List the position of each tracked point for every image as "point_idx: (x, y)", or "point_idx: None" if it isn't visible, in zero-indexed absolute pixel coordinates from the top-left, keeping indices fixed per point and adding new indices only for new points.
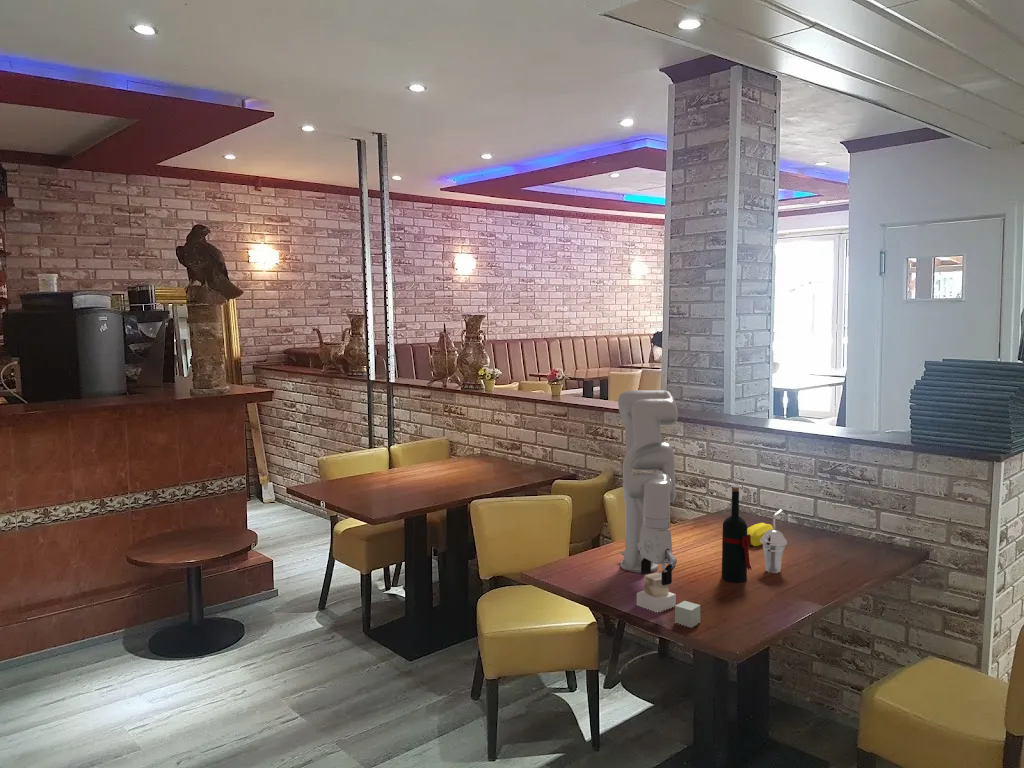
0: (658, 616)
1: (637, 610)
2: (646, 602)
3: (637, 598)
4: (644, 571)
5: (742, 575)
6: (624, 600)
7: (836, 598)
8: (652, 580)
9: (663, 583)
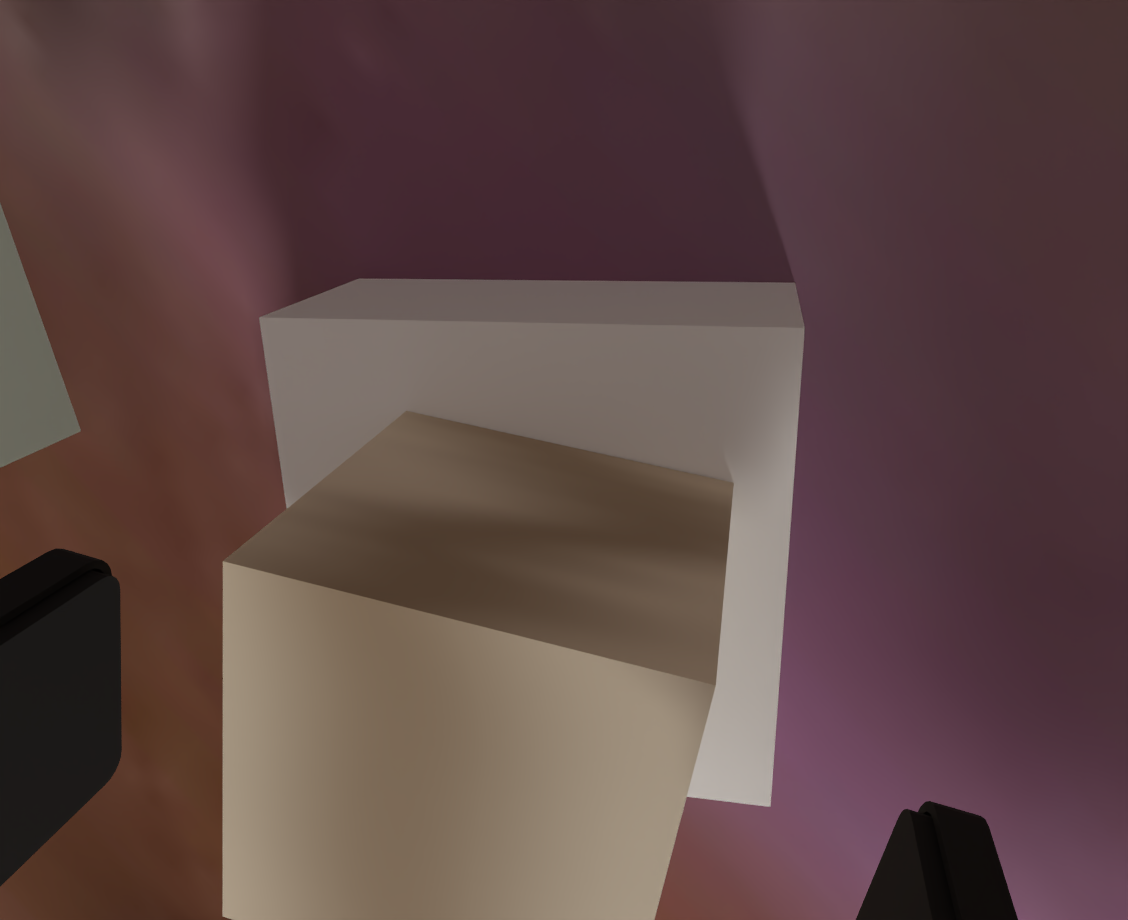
0: (266, 192)
1: (624, 107)
2: (554, 300)
3: (777, 305)
4: (897, 903)
5: None
6: (1099, 280)
7: None
8: (348, 569)
9: (35, 579)
